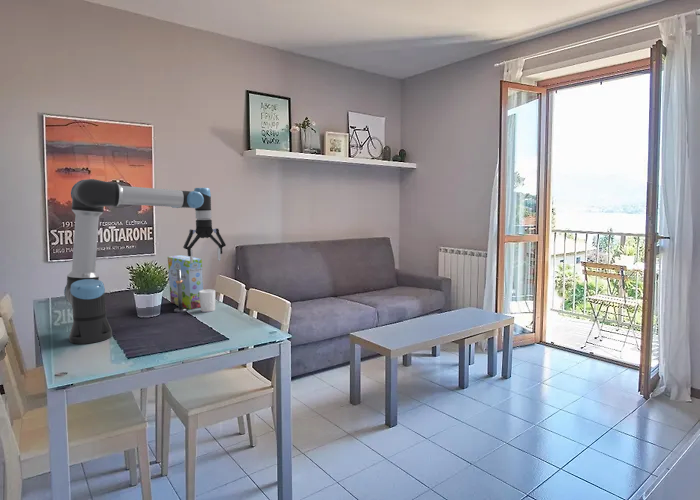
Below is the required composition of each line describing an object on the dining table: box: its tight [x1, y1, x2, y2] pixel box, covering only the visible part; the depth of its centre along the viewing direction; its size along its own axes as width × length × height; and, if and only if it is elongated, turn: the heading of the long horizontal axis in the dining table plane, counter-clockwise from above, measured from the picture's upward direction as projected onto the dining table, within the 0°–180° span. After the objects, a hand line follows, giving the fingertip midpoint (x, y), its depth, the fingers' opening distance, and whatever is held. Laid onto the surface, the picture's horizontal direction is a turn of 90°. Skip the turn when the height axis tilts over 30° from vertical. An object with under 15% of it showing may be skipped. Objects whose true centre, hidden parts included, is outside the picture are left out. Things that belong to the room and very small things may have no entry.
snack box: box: [167, 254, 204, 310], centre depth 238 cm, size 22×9×26 cm, turn 49°
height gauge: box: [174, 270, 188, 313], centre depth 226 cm, size 6×6×21 cm
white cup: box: [199, 289, 216, 313], centre depth 228 cm, size 8×8×10 cm
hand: (205, 261), depth 226 cm, fingers open, 13 cm apart
